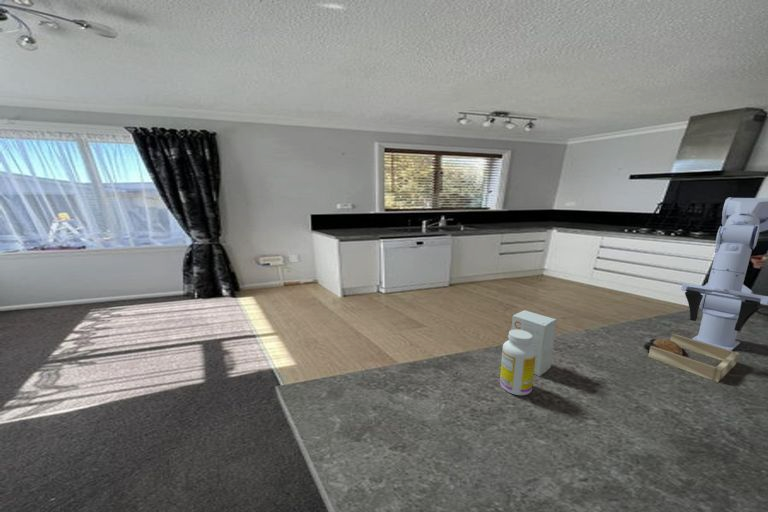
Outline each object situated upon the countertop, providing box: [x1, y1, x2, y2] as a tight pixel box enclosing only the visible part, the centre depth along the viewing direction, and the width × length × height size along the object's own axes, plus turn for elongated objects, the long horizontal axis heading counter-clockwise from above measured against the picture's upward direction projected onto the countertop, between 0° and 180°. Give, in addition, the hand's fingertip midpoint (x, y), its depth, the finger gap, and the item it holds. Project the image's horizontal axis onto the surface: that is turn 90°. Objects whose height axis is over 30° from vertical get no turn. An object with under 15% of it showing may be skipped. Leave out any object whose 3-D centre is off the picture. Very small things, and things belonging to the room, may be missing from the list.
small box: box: [510, 309, 557, 377], centre depth 75 cm, size 8×6×13 cm
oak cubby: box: [648, 333, 740, 383], centre depth 79 cm, size 16×13×3 cm
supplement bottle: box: [499, 329, 536, 396], centre depth 66 cm, size 7×7×13 cm
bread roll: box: [643, 338, 687, 357], centre depth 84 cm, size 11×8×4 cm
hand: (714, 325), depth 75 cm, fingers open, 7 cm apart
